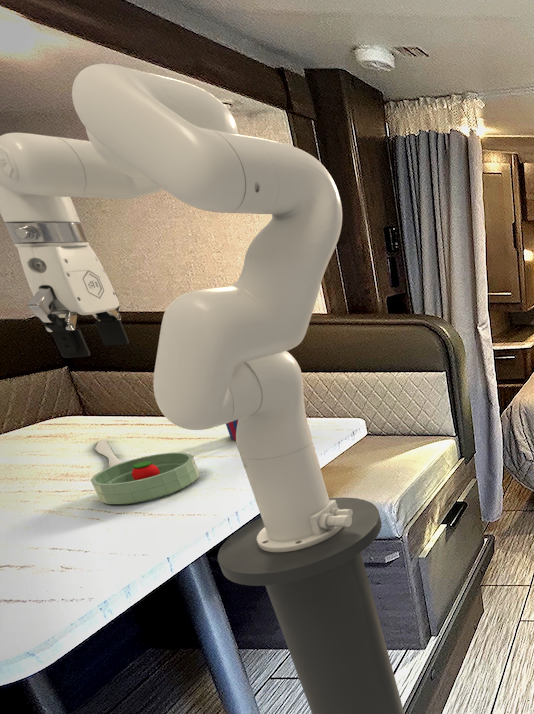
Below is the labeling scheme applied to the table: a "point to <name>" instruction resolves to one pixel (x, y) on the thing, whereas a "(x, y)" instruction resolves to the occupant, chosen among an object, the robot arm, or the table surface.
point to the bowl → (123, 489)
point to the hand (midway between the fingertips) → (98, 350)
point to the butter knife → (107, 452)
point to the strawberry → (144, 470)
